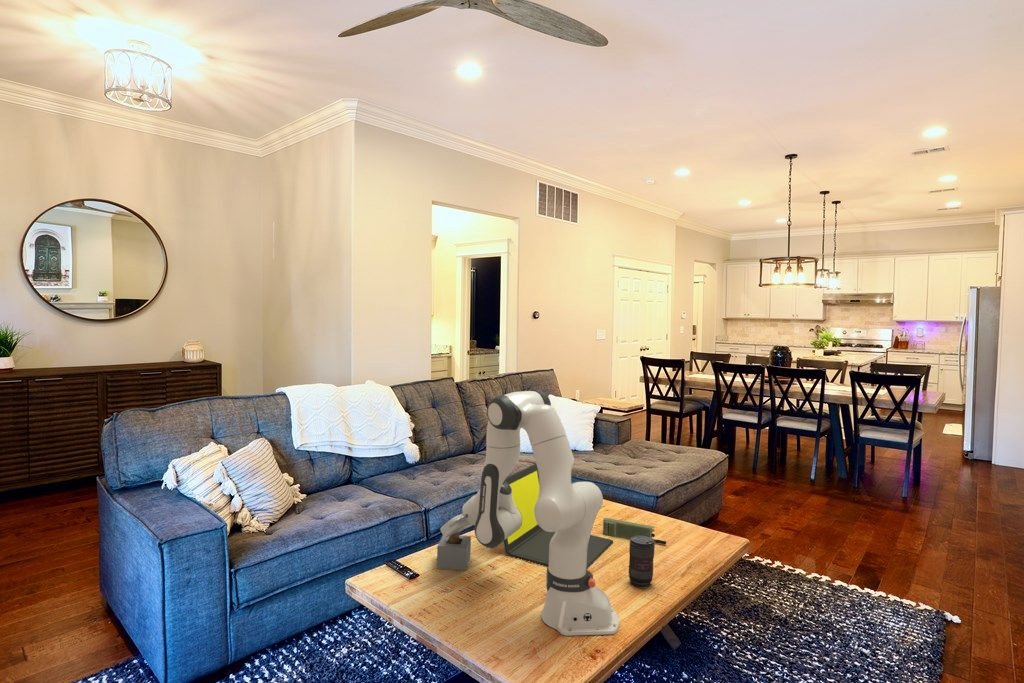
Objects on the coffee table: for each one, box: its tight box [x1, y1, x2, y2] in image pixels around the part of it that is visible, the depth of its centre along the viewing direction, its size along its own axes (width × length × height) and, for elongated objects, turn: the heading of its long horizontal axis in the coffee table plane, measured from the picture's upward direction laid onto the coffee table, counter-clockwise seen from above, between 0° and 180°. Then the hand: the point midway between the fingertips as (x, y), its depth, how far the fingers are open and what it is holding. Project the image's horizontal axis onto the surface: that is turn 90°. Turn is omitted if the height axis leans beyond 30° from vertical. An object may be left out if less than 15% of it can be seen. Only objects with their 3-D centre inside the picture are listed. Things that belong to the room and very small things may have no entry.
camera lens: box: [628, 535, 656, 589], centre depth 188 cm, size 8×8×15 cm
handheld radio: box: [602, 517, 667, 545], centre depth 225 cm, size 7×3×25 cm
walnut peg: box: [449, 532, 460, 544], centre depth 198 cm, size 4×4×10 cm
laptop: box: [503, 463, 614, 570], centre depth 214 cm, size 33×35×26 cm
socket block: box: [436, 535, 472, 572], centre depth 199 cm, size 10×10×8 cm
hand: (453, 532), depth 199 cm, fingers closed on walnut peg, 3 cm apart
